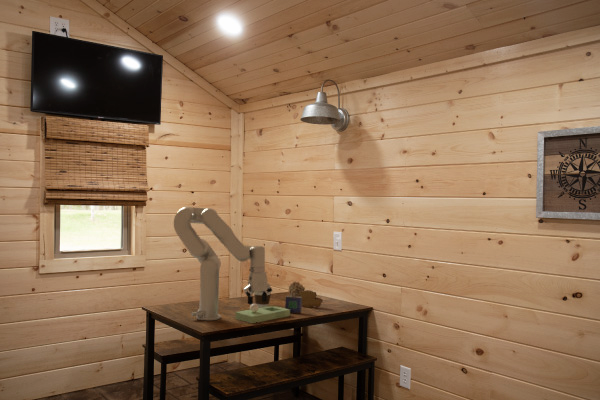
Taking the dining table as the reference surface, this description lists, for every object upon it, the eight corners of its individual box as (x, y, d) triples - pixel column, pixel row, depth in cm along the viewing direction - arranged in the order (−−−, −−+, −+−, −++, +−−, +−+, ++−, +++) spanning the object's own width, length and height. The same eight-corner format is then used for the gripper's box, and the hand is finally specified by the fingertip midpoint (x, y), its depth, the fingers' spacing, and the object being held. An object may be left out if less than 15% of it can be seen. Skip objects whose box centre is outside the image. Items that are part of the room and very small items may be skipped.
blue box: (301, 312, 280) (302, 293, 280) (300, 313, 277) (301, 294, 277) (285, 311, 282) (286, 292, 282) (284, 312, 279) (284, 293, 279)
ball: (253, 313, 258) (253, 304, 258) (247, 312, 262) (248, 303, 262) (260, 312, 262) (260, 303, 262) (254, 311, 265) (254, 302, 265)
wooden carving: (323, 307, 296) (323, 290, 296) (321, 309, 292) (322, 291, 292) (296, 305, 300) (296, 288, 300) (294, 306, 296) (294, 289, 296)
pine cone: (283, 295, 328) (284, 280, 329) (296, 294, 334) (296, 279, 334) (303, 302, 310) (303, 285, 310) (315, 300, 316) (316, 284, 316)
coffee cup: (268, 311, 281) (269, 290, 281) (250, 310, 283) (250, 288, 283) (273, 307, 291) (274, 286, 291) (255, 306, 294) (256, 285, 294)
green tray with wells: (251, 323, 252) (251, 316, 252) (235, 318, 261) (235, 312, 261) (289, 315, 271) (290, 309, 271) (273, 311, 280) (273, 305, 281)
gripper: (249, 272, 254) (249, 306, 254) (274, 269, 266) (274, 301, 266) (240, 270, 259) (239, 304, 259) (265, 267, 271) (264, 299, 271)
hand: (257, 302), depth 263 cm, fingers open, 9 cm apart
